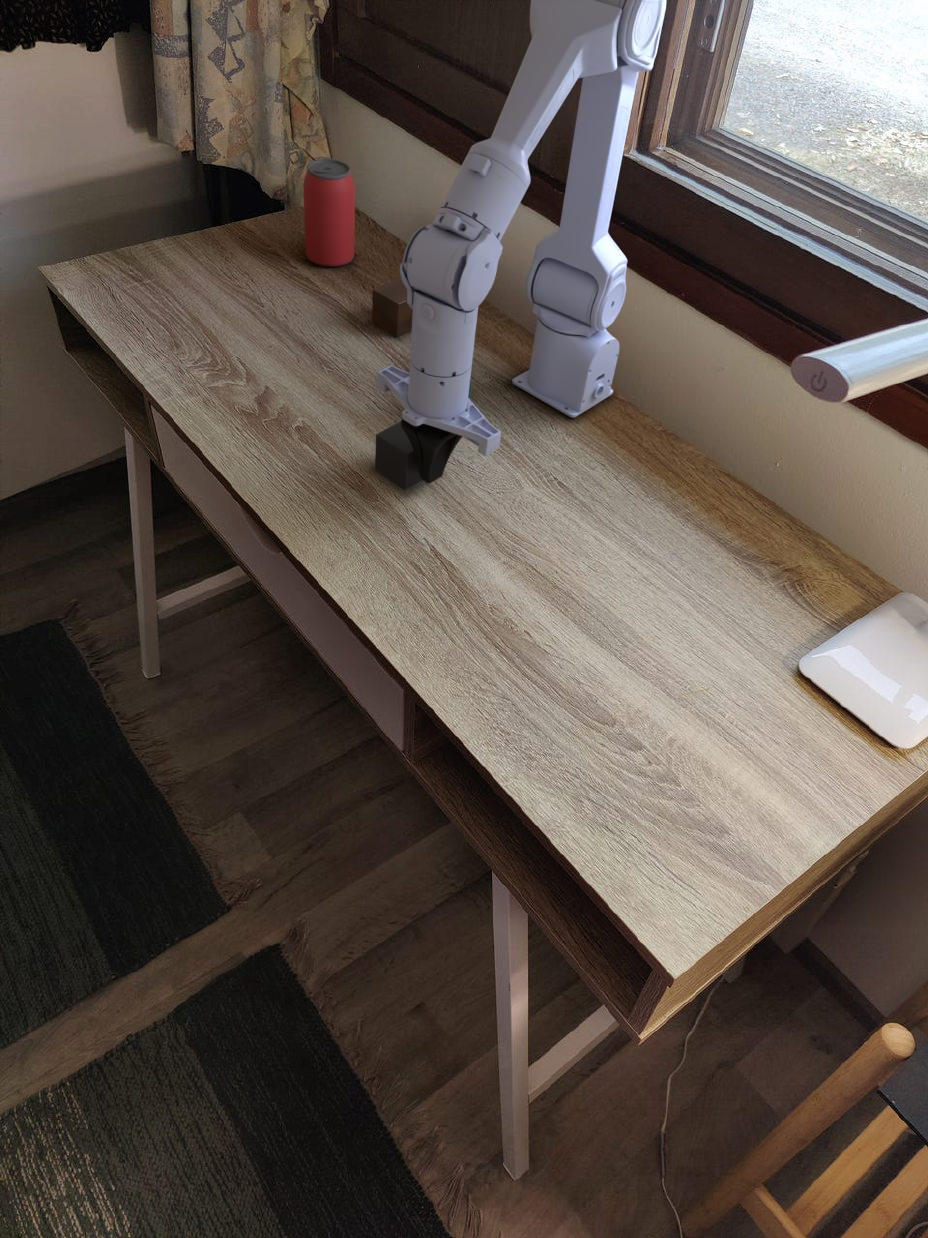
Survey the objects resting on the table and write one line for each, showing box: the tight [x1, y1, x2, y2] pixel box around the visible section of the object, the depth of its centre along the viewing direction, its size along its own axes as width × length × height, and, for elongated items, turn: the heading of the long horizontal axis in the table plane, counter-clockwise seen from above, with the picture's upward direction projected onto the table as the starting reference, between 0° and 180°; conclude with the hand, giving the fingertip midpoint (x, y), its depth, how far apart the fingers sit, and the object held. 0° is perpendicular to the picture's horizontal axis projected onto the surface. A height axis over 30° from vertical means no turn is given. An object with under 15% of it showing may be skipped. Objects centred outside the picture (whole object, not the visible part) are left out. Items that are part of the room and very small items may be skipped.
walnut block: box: [371, 278, 413, 338], centre depth 118 cm, size 4×4×4 cm
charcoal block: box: [374, 420, 423, 491], centre depth 98 cm, size 4×4×4 cm
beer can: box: [302, 158, 356, 268], centre depth 126 cm, size 7×7×12 cm
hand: (431, 477), depth 97 cm, fingers closed
